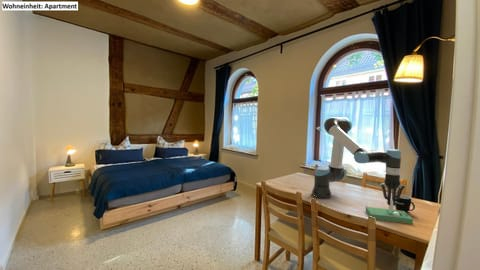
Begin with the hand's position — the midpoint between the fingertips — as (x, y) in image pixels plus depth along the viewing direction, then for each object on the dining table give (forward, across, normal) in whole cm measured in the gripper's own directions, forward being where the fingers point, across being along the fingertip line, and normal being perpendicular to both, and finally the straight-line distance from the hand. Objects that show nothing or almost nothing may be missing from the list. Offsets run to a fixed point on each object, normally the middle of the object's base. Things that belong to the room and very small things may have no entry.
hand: (390, 210), depth 135 cm
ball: (+3, +3, 0) cm, 4 cm away
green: (+5, -2, 0) cm, 5 cm away
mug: (+5, +12, +13) cm, 19 cm away
